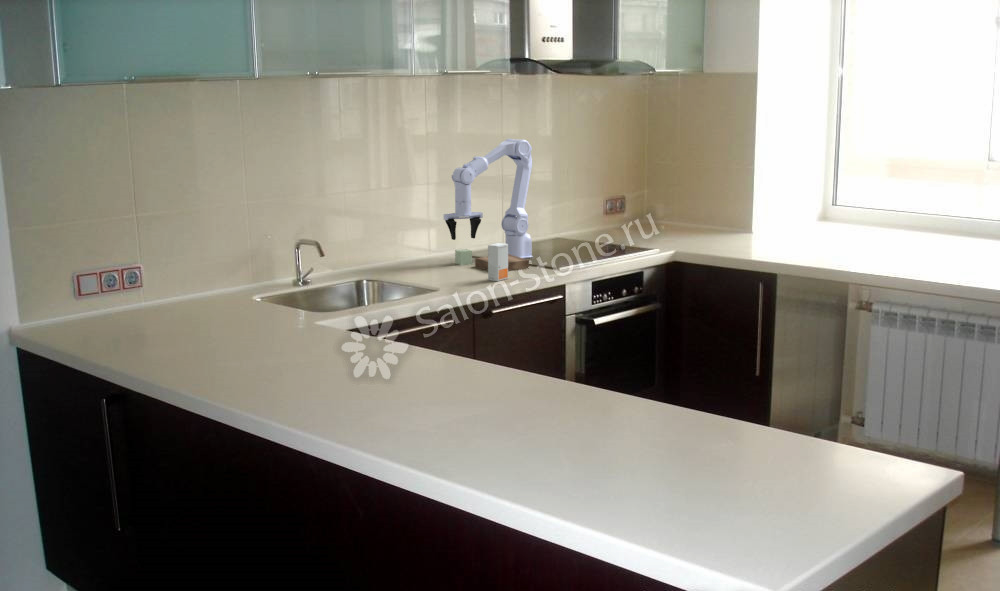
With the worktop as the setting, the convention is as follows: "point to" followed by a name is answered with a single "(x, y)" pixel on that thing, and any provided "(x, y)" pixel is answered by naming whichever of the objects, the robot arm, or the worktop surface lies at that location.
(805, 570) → the worktop surface
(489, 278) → the skincare box
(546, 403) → the worktop surface
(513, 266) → the walnut base
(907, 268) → the worktop surface
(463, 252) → the sage block
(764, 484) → the worktop surface
